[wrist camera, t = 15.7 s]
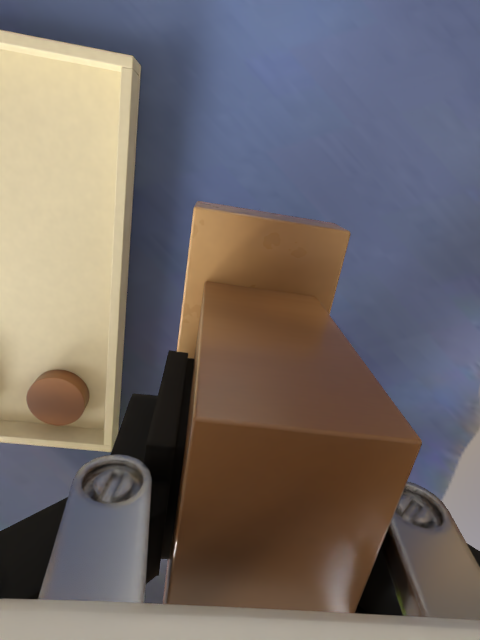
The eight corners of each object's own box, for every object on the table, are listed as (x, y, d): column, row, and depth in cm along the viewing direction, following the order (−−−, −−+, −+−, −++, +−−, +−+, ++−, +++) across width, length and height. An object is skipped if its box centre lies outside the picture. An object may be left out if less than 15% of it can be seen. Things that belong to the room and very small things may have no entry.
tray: (-154, 7, 21) (-196, -10, 19) (141, 65, 23) (133, 55, 21) (-90, 413, 30) (-113, 432, 28) (118, 432, 32) (111, 452, 30)
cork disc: (31, 366, 29) (24, 375, 28) (89, 371, 29) (84, 380, 28) (34, 414, 30) (27, 423, 29) (89, 418, 30) (84, 428, 29)
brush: (165, 466, 16) (113, 788, 8) (198, 195, 13) (165, 267, 4) (262, 474, 17) (309, 788, 8) (322, 216, 13) (516, 318, 5)
